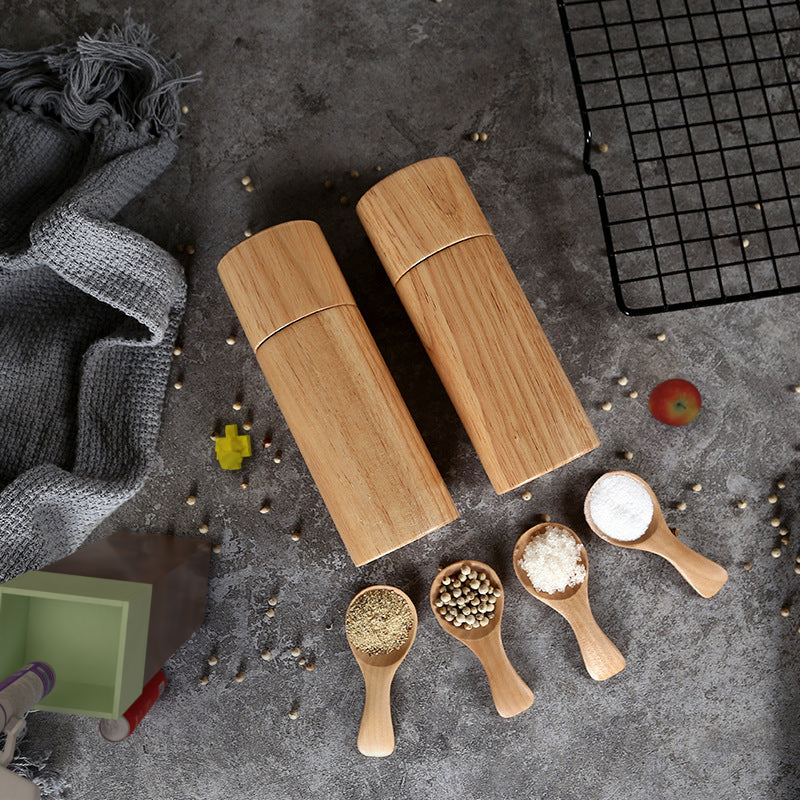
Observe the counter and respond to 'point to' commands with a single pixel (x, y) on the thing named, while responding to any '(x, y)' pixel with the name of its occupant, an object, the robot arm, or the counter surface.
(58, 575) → the bin
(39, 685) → the container
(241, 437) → the yellow cross puzzle piece
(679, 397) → the apple
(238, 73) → the counter surface
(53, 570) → the stand
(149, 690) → the beverage can
